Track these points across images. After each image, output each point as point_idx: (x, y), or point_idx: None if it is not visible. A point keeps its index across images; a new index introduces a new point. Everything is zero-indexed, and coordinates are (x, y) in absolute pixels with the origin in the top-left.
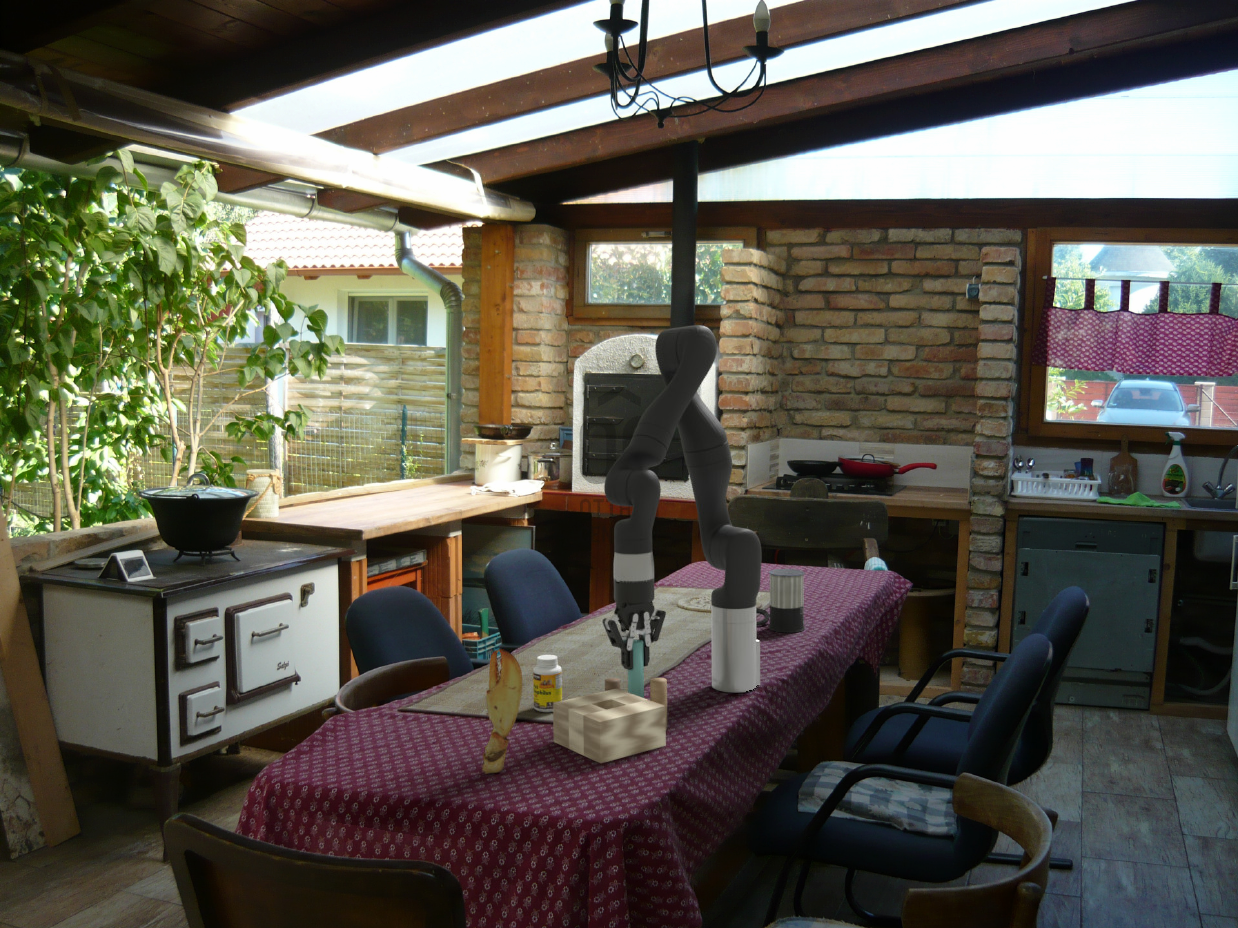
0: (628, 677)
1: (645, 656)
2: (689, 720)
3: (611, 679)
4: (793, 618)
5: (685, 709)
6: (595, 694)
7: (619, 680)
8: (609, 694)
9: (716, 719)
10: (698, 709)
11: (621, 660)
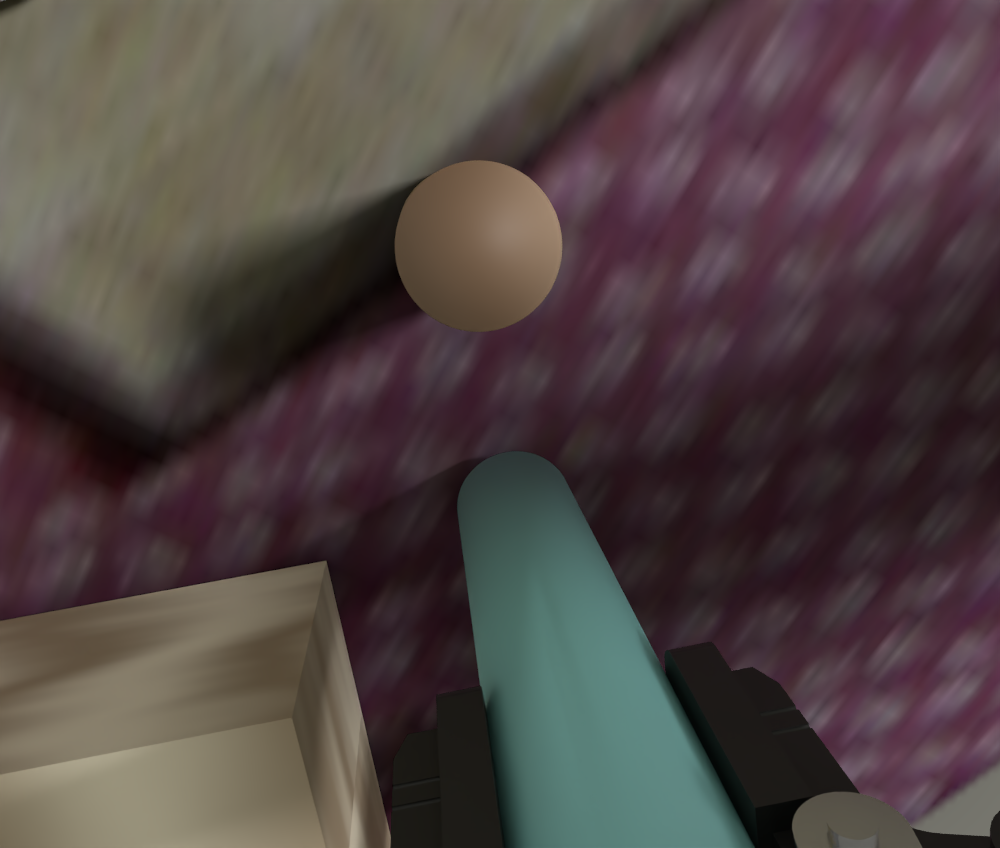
0: (476, 654)
1: None
2: (778, 661)
3: (481, 217)
4: None
5: (899, 462)
6: (21, 799)
7: (535, 298)
8: (148, 846)
9: (915, 711)
10: (963, 502)
11: (395, 787)
